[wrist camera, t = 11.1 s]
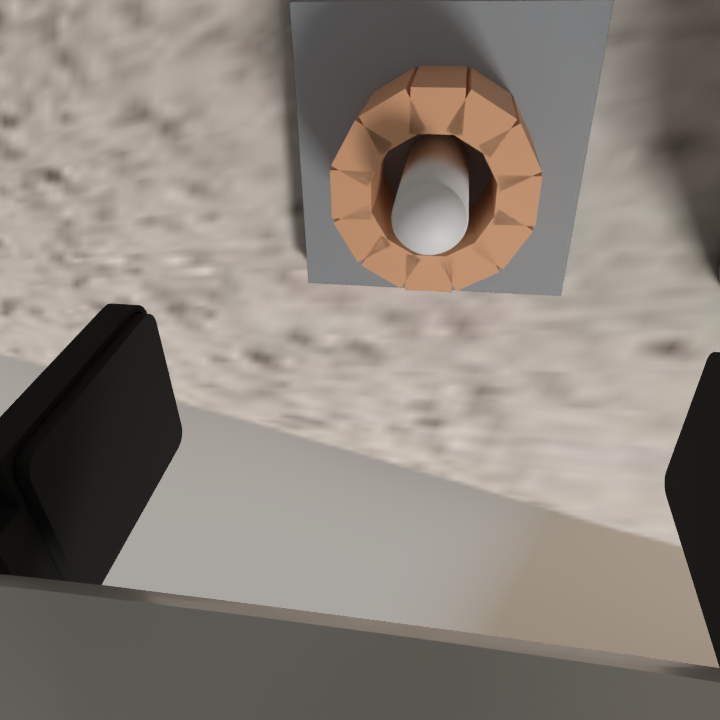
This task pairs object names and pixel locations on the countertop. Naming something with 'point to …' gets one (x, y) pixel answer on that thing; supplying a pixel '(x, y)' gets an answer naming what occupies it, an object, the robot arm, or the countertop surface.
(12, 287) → the countertop surface
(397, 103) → the ring
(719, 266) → the supplement bottle
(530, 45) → the post block
